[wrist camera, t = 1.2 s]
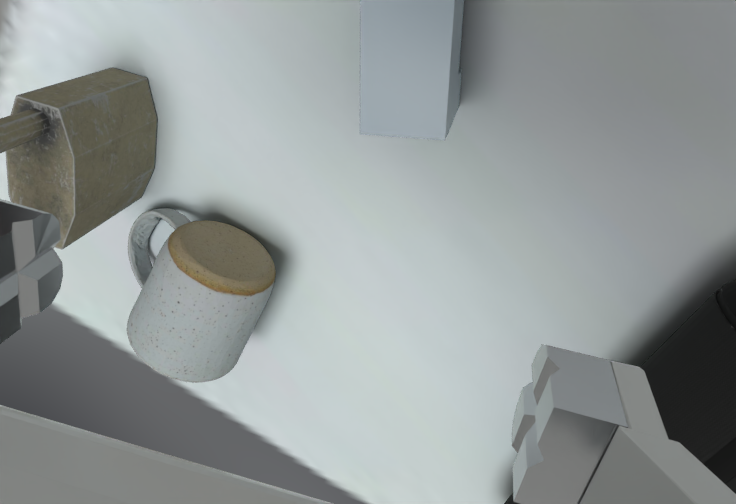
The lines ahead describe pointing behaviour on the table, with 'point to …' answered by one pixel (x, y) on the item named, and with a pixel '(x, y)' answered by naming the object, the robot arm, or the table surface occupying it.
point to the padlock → (81, 148)
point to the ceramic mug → (196, 295)
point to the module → (410, 67)
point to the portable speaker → (700, 385)
